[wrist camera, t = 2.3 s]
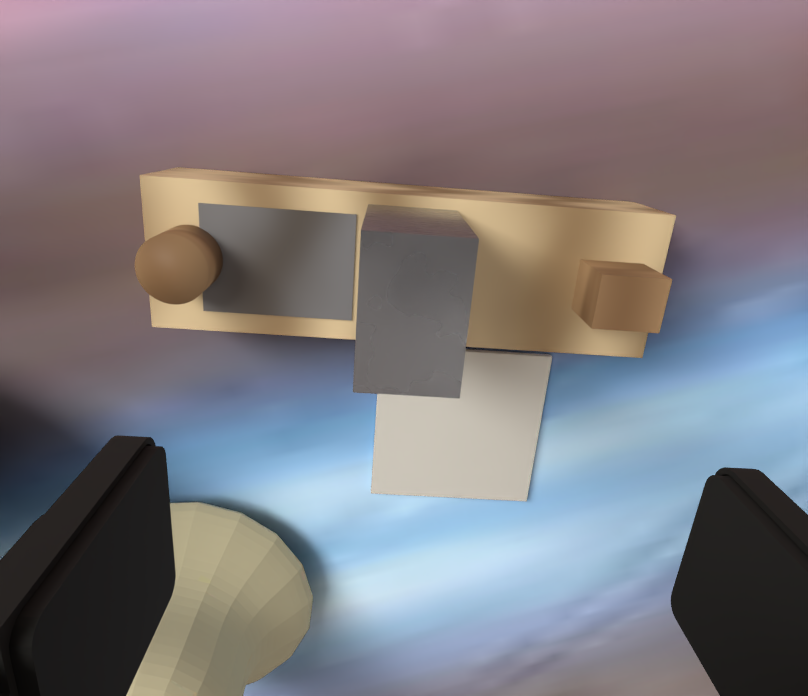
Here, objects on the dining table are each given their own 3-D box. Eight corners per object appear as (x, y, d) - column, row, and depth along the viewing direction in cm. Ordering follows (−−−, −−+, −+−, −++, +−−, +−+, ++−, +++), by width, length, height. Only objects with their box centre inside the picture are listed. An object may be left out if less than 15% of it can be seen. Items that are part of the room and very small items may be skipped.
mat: (550, 354, 34) (552, 357, 34) (525, 497, 38) (526, 501, 37) (380, 343, 34) (380, 346, 33) (371, 489, 37) (370, 493, 37)
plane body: (633, 202, 31) (709, 226, 24) (607, 325, 34) (669, 382, 26) (178, 167, 30) (108, 181, 23) (186, 297, 33) (125, 349, 25)
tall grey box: (457, 210, 26) (479, 238, 20) (443, 335, 28) (459, 398, 22) (368, 203, 26) (361, 230, 20) (361, 330, 28) (352, 392, 22)
